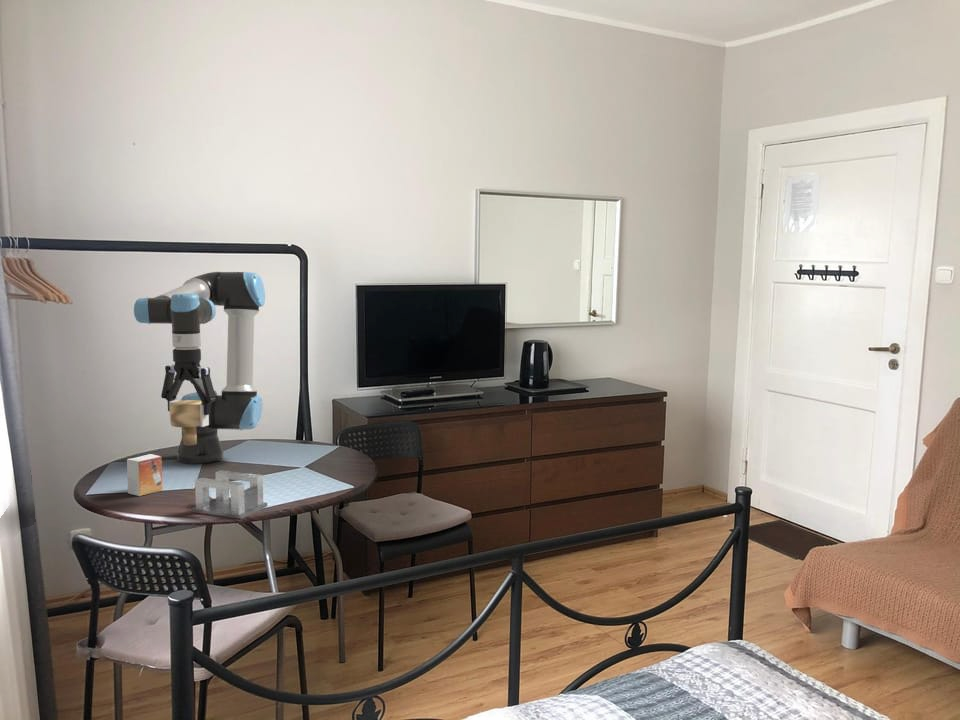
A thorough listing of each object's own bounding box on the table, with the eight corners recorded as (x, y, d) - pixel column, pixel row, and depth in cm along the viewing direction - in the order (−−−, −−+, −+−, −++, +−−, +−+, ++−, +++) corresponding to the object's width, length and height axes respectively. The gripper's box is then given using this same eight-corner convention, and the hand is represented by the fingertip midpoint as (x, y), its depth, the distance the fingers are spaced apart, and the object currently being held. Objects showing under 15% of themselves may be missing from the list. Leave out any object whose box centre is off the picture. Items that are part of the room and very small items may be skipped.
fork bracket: (191, 512, 215) (190, 480, 214) (220, 499, 226) (219, 469, 225) (241, 519, 210) (240, 486, 209) (267, 506, 221) (266, 475, 220)
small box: (139, 497, 228) (137, 461, 226) (127, 493, 231) (126, 458, 229) (163, 490, 235) (162, 456, 233) (151, 487, 237) (150, 453, 236)
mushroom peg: (164, 446, 225) (162, 404, 223) (187, 438, 234) (186, 399, 232) (192, 449, 221) (191, 407, 220) (215, 441, 231) (214, 401, 229)
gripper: (145, 347, 224) (148, 423, 227) (210, 351, 217) (213, 430, 220) (164, 344, 231) (167, 418, 234) (228, 348, 224) (230, 425, 227)
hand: (189, 424), depth 227 cm, fingers closed on mushroom peg, 10 cm apart
